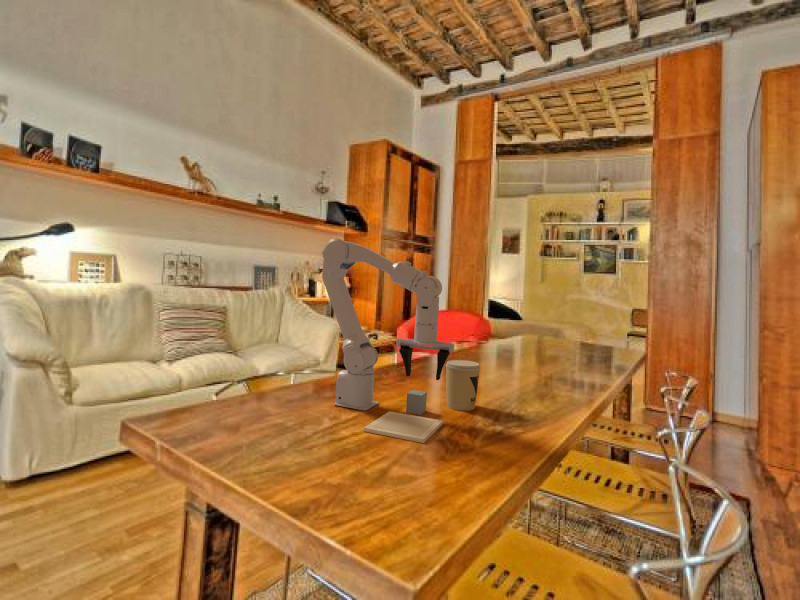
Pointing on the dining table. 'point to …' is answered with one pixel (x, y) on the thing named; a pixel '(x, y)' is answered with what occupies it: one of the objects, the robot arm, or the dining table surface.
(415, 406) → the block
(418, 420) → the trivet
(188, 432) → the dining table surface
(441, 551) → the dining table surface
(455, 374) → the coffee cup
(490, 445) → the dining table surface
